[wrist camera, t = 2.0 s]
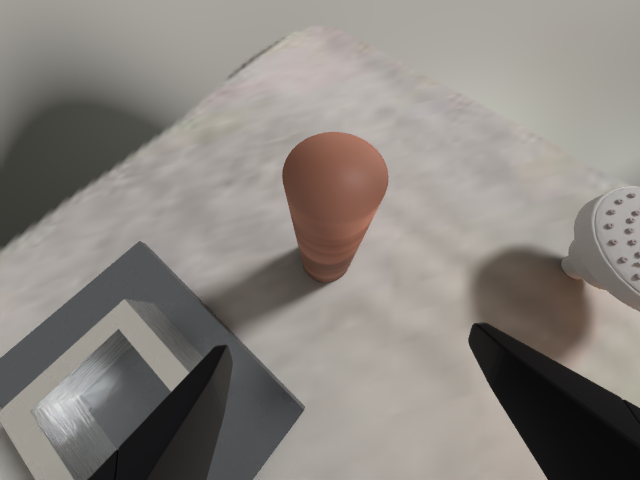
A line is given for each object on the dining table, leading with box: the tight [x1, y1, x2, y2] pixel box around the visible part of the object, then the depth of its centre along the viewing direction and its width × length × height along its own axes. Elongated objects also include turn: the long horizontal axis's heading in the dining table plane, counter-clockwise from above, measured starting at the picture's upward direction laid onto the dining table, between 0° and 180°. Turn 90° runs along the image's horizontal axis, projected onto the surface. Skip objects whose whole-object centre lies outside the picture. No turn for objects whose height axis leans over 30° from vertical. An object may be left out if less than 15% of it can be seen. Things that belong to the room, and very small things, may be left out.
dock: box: [0, 241, 305, 480], centre depth 17 cm, size 20×14×4 cm
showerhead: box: [561, 186, 640, 311], centre depth 19 cm, size 9×7×10 cm
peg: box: [282, 132, 388, 282], centre depth 16 cm, size 4×4×13 cm
